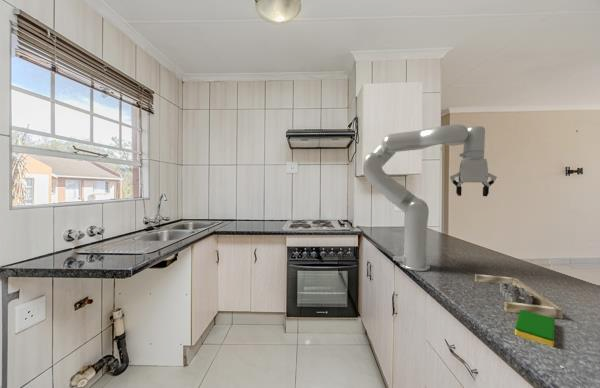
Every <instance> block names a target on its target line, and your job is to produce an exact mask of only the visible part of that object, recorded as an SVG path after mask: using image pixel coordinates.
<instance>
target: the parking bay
mask: <svg viewBox="0 0 600 388" xmlns="http://www.w3.org/2000/svg"><path fill="white" fill-rule="evenodd" d="M474 281H475V282H476V283H487V284H495V285H496V284H497V285H500V281H501V282H503V283H508V284H512V285H517V287H523V288H524V290H527V291H528V292H532V293H533V296H531V297H532V302H534V303H536V304H523V303H520V302H516V303H514V302H511V301H507V300H505V301H504V307H503V308H504V311H505V312H506V313H515V314H519V313H520V310H524V311H528V312H532V313H536V314H539V315H543V316H547V317H551V318H554V319H560V320H561V319H562V320H563V315H564V310H563V309H562V308H560V307H559V306H557V305H556V304H554V303H553V302H552V301H551V300H548V299H547V298H546V297H544V296H543V295H541V294H540V293H538V292H537V291H536V290H534V289H532V287H529V286H528V285H526V284H525V283H523V282H522V281H521V280H520V279H518V278H516V277H507V276H498V275H490V274H488V275H487V274H477V273H475V274H474Z"/></svg>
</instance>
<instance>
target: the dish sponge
mask: <svg viewBox="0 0 600 388" xmlns="http://www.w3.org/2000/svg"><path fill="white" fill-rule="evenodd" d="M555 321H556V318H552V317H547V316H543V315H539V314H536V313H532V312H528V311H524V310H520V313H518V317H517V319H516V322H515V326H514V335H515V336H516V335H517V336H516V337H519V338H523V339H526V340H530V341H532V342H535V341H537V342H536V343H538V342H540V343H539V344H541V343H543V344H542V345H544V344H547V345H550V346H549V347H551V346H554V347H555V325H556V324H555ZM547 345H546V346H547Z"/></svg>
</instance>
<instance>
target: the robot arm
mask: <svg viewBox="0 0 600 388" xmlns="http://www.w3.org/2000/svg"><path fill="white" fill-rule="evenodd" d="M381 141H382V142H381V143H380V144H379V145H378V146H377V148H376V149H375V150H374V151H372V152H370V153H367V155H366V156H365V157H364V160H363V164H362V171H363V175H364V178H365V180H367V182H368V183H369V185H371V186H372V187H373V188H374V189H375V190H377V191H378V193H380V194H381V195H383V196H384V197H385V198H386V199H387V200H388V201H389V202H390V203H392V204H393V205H394V206H395V207H397V208H398V209H400V210H401V211H402V212H403V213H404V226H403V227H404V228H403V229H404V230H403V232H404V233H403V234H404V235H403V236H404V237H403V254H402V255H400V256H397V255H394V256H392V259H393V261H396V262H399V266H400V267H402V268H403V269H406V270H409V271H416V272H425V271H430V269H431V268H430V267H431V266H430V264H427V251H428V250H427V244H428V243H427V242H428V222H429V221H428V220H429V213H430V211H429V206H428V203H427V202H426V201H425V200H423V199H422V198H419V197H418V196H416V195H415V194H413V193H412V192H411V191H410V190H408V189H407V188H406V187H405V186H404V185H403V184H401V183H399V182H398V181H396V180H395V179H393V178H392V177H391V176H390V175H389V174H388V173H386V172H385V171H384V169H383V167H384V165H386V164H387V162H389V160H391V158H393V156H394V155H395V154H396V153H399V152H406V151H417V150H418V151H419V150H423V149H427V148H429V147H433V146H437V145H446V146H452V147H453V146H461V145H463V148H462V149H463V152H461V153H459V154H458V155H459V156H458V157H459V158H461V160H460V162H459V163H460V164H459V167H458V168H459V169H458V172H457V173H455V174H453V175H450V176H449V179H450V181H451V183H452V184H453V185H454V186H455V187H456V188H455V189H456V196H458V197H461V196H462V192H463V191H462V189H463V188H462V185H463V184H464V183H481V184H482V186H483V187H482V197H488V195H489V193H490V192H489V191H490V187H491V185H493V184H495V181H496V179H497V178H498V177H497V176H496V175H494V174H492V173H489V167H488V160H487V158H485V145H486V144H485V143H486V129H485V127H484V126H480V125H474V126H468V127H466V125H464V124H456V123H455V124H449V125H448V124H447V125H440V126H436V127H431V128H430V127H429V128H424V129H419V130H412V131H405V132H395V133H389V134H387V135H385V136H384V137H383V139H382V140H381ZM457 177H458V181H456V178H457ZM489 178H490V180H489Z"/></svg>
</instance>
